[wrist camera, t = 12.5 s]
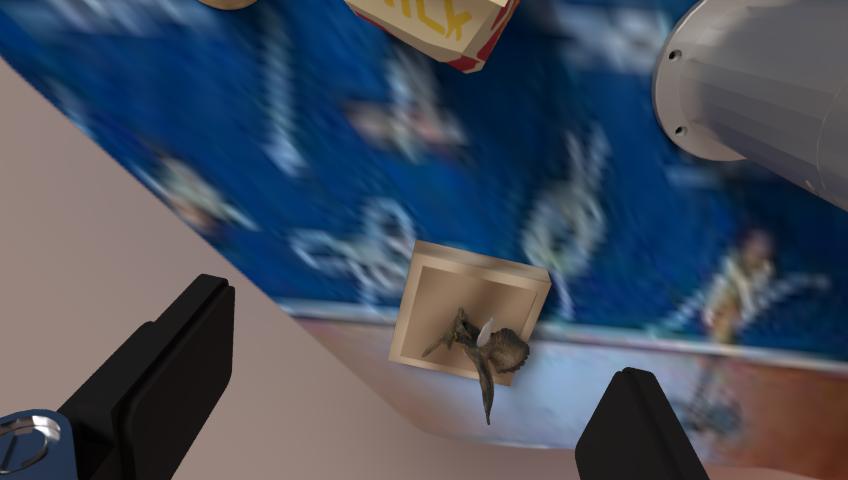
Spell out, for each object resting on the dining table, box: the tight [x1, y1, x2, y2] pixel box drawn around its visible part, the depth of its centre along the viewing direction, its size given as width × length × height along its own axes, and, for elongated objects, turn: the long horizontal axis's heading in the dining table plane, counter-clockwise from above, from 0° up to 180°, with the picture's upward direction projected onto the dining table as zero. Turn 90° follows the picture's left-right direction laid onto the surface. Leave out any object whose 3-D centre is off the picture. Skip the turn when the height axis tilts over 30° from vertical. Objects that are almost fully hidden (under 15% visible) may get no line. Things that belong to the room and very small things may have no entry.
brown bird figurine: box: [422, 307, 530, 425], centre depth 40 cm, size 8×7×9 cm
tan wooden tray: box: [388, 240, 551, 386], centre depth 43 cm, size 12×12×3 cm
